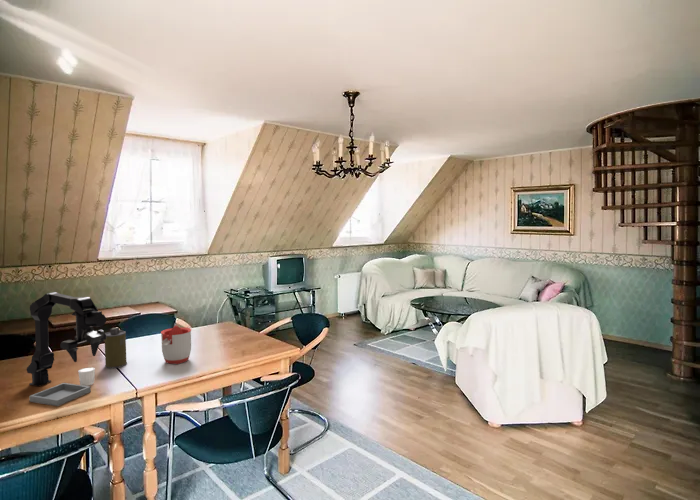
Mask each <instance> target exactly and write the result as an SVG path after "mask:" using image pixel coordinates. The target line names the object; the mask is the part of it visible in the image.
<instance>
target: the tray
mask: <svg viewBox="0 0 700 500" xmlns="http://www.w3.org/2000/svg"><path fill="white" fill-rule="evenodd" d="M91 389H92V388H91V385H89V386H83V385H80V384H75V383H70V382H68V383H67V382H62V383H59V384H57V385H54V386H52V387H49V388H46V389H44V390H42V391H39V392H36V393H34V394H30V395H29V399H28V401H29V403H35V404H43V405H48V406H53V407H60V406H62V405H64V404H67V403H69V402H71V401H73V400H76V399H77V398H80V397H82V396H85V395H87V394H89V393H91V392H92V390H91Z"/></svg>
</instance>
